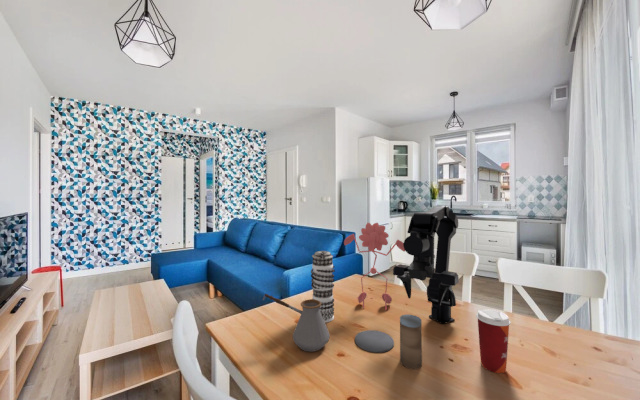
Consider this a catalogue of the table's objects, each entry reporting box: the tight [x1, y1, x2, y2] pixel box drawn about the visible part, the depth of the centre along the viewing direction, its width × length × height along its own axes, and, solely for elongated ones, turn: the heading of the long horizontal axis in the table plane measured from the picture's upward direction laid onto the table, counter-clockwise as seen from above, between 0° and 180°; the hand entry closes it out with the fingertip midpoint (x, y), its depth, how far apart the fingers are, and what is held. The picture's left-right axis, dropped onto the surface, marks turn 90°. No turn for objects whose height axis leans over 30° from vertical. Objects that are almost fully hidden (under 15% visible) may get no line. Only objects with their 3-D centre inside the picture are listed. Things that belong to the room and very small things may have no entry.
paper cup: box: [475, 308, 511, 374], centre depth 70 cm, size 8×8×14 cm
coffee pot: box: [262, 293, 330, 353], centre depth 82 cm, size 21×12×15 cm, turn 81°
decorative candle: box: [310, 250, 336, 324], centre depth 100 cm, size 9×9×25 cm
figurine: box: [343, 222, 406, 311], centre depth 114 cm, size 15×26×35 cm, turn 80°
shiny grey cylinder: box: [399, 314, 423, 370], centre depth 72 cm, size 6×6×12 cm
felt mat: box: [354, 329, 395, 354], centre depth 83 cm, size 12×12×1 cm
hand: (423, 301), depth 83 cm, fingers open, 9 cm apart
